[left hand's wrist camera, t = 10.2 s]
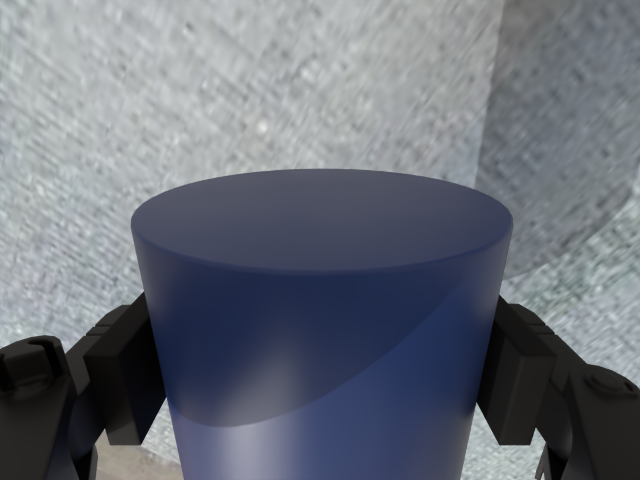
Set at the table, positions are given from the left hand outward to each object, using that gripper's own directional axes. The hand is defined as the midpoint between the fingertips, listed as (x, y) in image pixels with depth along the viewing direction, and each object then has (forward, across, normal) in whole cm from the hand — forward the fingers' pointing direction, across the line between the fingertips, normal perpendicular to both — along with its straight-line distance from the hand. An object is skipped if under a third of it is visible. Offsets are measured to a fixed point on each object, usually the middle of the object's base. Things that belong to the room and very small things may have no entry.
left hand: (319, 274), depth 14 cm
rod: (+1, 0, -9) cm, 9 cm away
